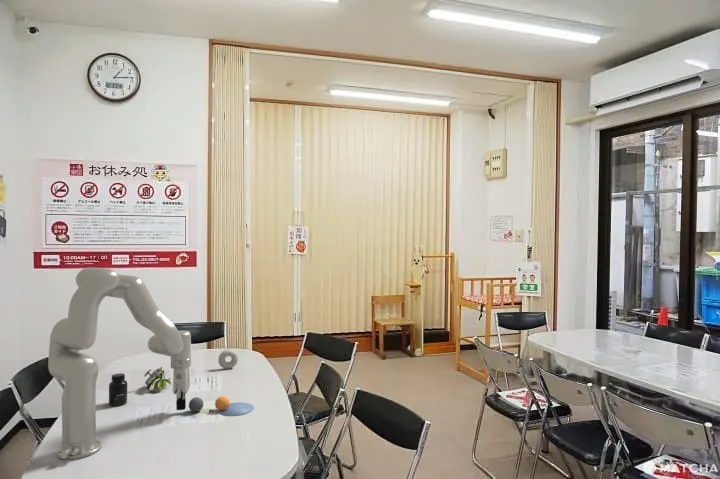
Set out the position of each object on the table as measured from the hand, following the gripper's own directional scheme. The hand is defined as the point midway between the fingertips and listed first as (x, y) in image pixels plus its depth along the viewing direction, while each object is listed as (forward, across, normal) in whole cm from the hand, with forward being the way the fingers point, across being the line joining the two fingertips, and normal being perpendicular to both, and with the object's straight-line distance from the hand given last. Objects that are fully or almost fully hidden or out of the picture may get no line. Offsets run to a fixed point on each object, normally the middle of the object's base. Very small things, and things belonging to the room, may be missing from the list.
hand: (181, 409), depth 191 cm
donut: (+2, +58, -14) cm, 60 cm away
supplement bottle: (+2, +15, +27) cm, 31 cm away
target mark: (+2, 0, -21) cm, 21 cm away
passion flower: (+2, +32, +15) cm, 35 cm away
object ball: (-1, 0, -16) cm, 16 cm away
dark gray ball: (-1, 0, -6) cm, 6 cm away
